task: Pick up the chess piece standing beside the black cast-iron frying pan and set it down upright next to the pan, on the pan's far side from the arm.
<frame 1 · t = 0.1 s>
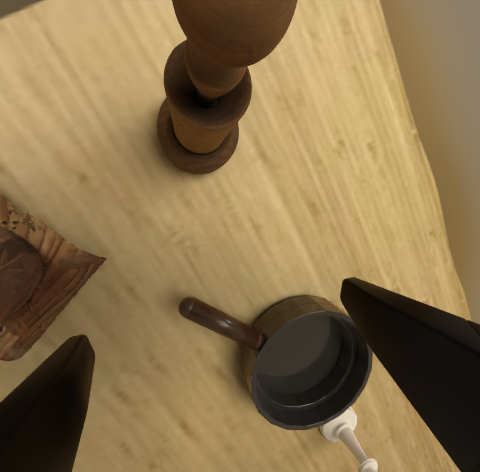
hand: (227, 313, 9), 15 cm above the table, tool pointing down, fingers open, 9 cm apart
mortar and pestle: (197, 135, 22), on the table
bird sculpture: (12, 264, 21), on the table
chess piece: (335, 418, 32), on the table
pan: (297, 348, 28), on the table
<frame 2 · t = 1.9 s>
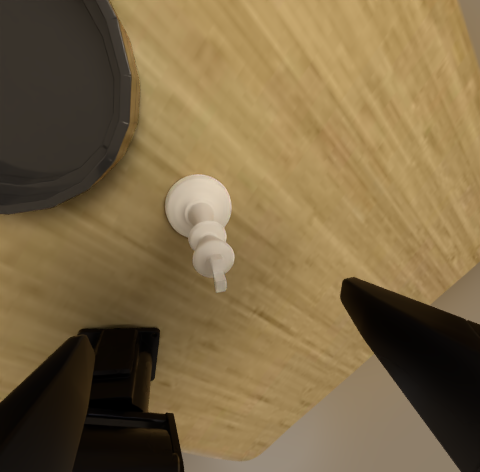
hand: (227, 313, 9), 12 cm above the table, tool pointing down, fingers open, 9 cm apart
chess piece: (198, 206, 19), on the table
pan: (10, 73, 13), on the table
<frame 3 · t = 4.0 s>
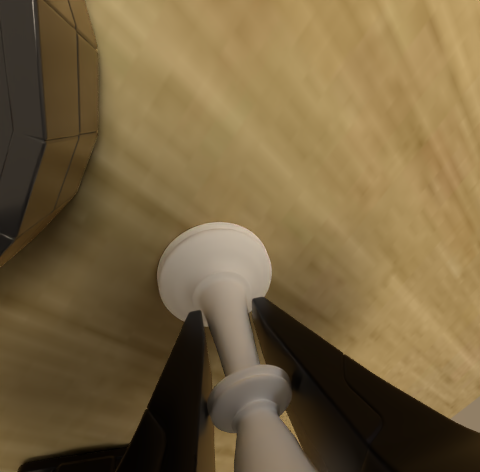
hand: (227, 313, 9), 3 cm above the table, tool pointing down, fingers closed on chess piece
chess piece: (215, 271, 11), on the table, touching gripper
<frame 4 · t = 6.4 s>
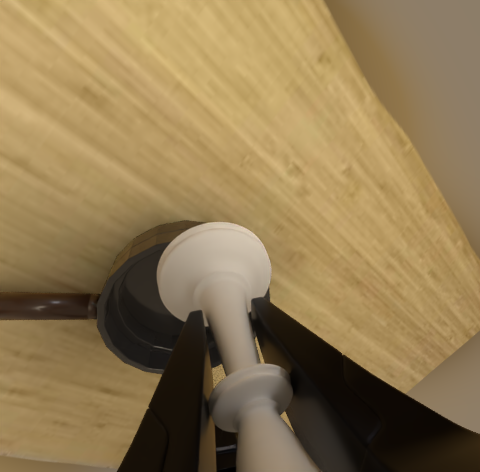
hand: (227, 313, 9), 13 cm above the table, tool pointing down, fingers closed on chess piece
chess piece: (214, 271, 11), point 10 cm above the table, touching gripper
pan: (187, 285, 23), on the table
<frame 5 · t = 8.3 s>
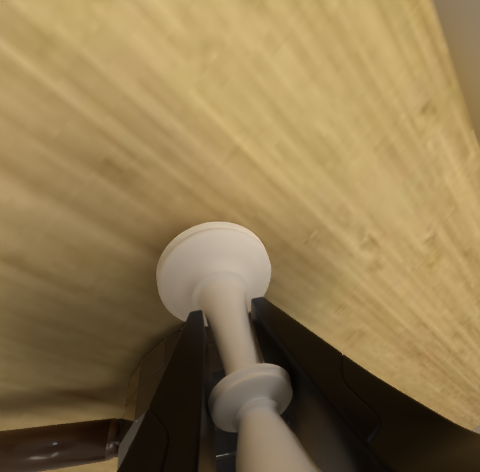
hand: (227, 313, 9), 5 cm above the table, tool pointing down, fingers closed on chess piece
chess piece: (214, 270, 11), point 2 cm above the table, touching gripper
pan: (225, 377, 18), on the table
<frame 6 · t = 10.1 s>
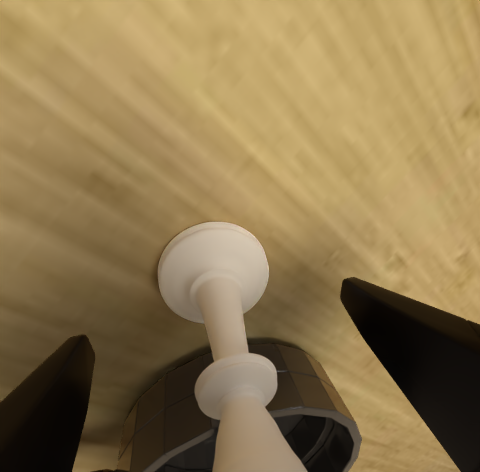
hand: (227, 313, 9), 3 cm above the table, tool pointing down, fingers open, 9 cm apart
chess piece: (214, 269, 12), on the table
pan: (232, 411, 16), on the table
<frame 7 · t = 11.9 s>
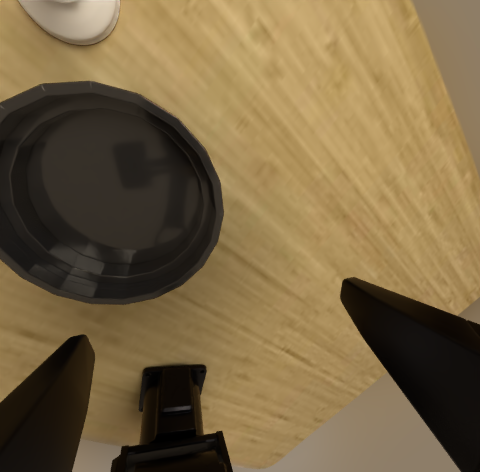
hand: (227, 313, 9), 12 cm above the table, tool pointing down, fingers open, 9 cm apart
pan: (123, 194, 18), on the table
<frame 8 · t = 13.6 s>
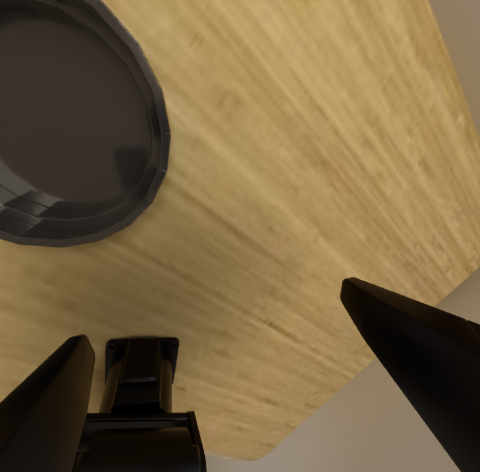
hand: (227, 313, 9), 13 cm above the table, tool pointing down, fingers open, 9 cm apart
pan: (61, 124, 15), on the table
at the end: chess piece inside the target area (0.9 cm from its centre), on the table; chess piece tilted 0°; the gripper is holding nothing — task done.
